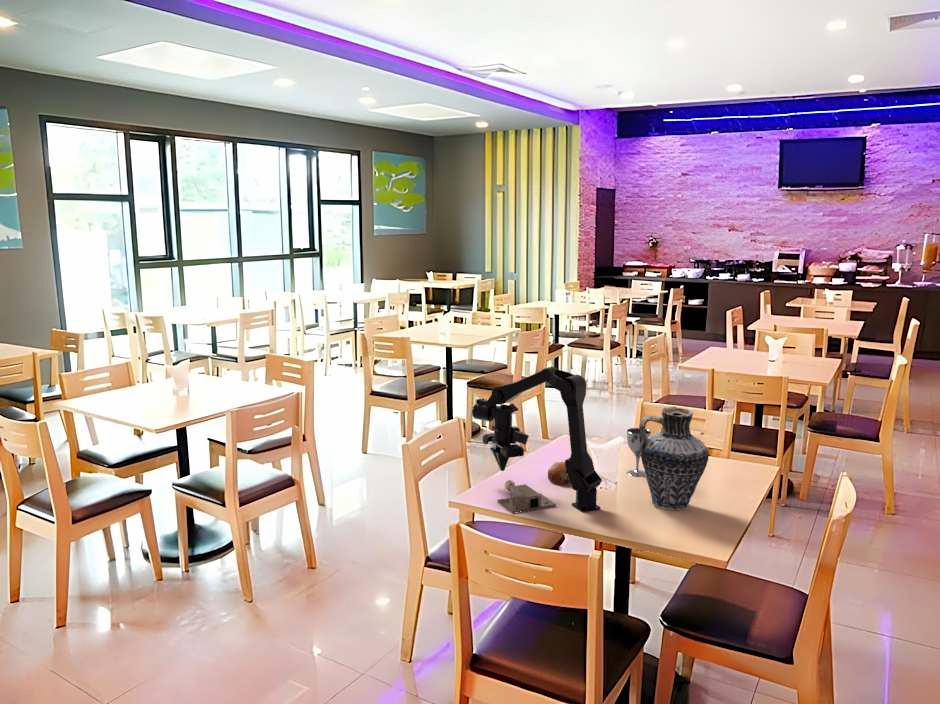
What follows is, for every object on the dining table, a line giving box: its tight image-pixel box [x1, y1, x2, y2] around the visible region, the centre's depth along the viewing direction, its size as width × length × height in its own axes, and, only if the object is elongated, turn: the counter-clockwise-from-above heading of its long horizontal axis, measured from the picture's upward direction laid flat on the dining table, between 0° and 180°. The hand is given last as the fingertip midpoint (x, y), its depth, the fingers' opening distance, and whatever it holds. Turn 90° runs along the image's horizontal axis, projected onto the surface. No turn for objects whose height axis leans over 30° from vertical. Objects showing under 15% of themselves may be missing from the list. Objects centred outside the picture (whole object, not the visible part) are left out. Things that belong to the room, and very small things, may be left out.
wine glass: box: [626, 427, 652, 478], centre depth 258 cm, size 8×8×15 cm
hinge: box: [496, 484, 557, 514], centre depth 230 cm, size 10×15×4 cm
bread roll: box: [547, 461, 572, 486], centre depth 252 cm, size 10×10×8 cm
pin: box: [504, 480, 516, 492], centre depth 235 cm, size 12×3×3 cm, turn 24°
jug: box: [639, 406, 710, 511], centre depth 227 cm, size 21×19×30 cm
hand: (502, 470), depth 245 cm, fingers closed
